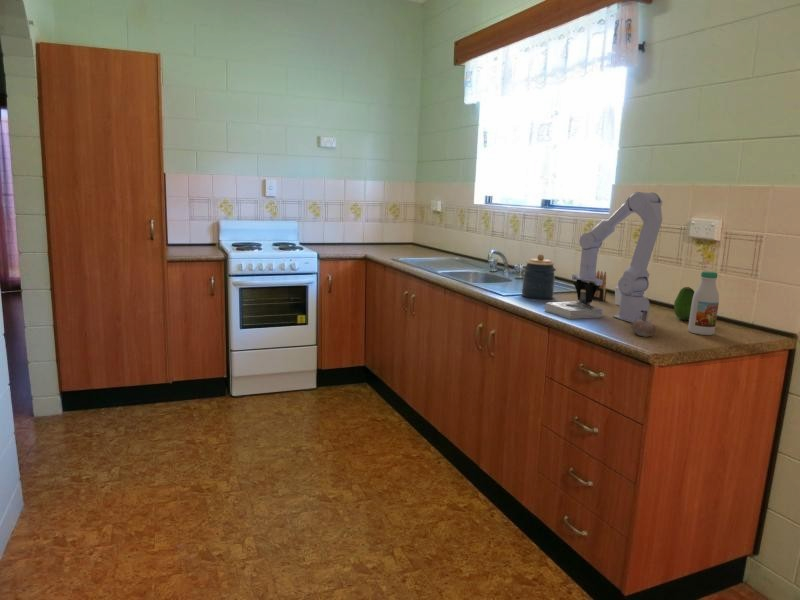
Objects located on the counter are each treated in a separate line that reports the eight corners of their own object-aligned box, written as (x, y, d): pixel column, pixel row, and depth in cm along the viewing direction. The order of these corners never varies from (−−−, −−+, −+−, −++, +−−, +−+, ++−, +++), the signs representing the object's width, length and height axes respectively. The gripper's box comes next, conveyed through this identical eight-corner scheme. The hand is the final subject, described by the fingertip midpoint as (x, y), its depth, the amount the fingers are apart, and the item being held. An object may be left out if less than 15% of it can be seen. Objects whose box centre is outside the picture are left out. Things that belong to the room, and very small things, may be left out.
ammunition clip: (605, 301, 241) (608, 272, 238) (602, 301, 240) (605, 272, 238) (585, 296, 250) (588, 268, 248) (582, 296, 249) (585, 268, 247)
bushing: (592, 305, 222) (593, 290, 220) (583, 306, 220) (585, 290, 219) (584, 303, 225) (586, 288, 224) (576, 304, 224) (578, 288, 222)
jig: (601, 317, 209) (602, 308, 208) (570, 319, 203) (570, 310, 203) (575, 309, 221) (576, 301, 221) (544, 310, 216) (545, 302, 215)
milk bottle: (684, 332, 191) (692, 271, 188) (692, 328, 197) (701, 269, 193) (709, 337, 186) (718, 274, 182) (717, 333, 191) (726, 272, 188)
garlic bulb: (636, 331, 191) (639, 306, 189) (659, 335, 186) (662, 310, 184) (626, 334, 185) (629, 309, 184) (649, 339, 180) (653, 314, 179)
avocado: (667, 318, 211) (672, 285, 209) (680, 316, 216) (684, 284, 213) (688, 323, 205) (693, 289, 202) (701, 321, 209) (706, 288, 207)
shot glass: (633, 306, 230) (635, 289, 229) (614, 305, 232) (616, 288, 230) (629, 303, 237) (631, 286, 236) (612, 302, 238) (614, 285, 237)
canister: (535, 292, 253) (538, 251, 250) (559, 298, 243) (563, 255, 240) (514, 295, 245) (518, 253, 242) (539, 300, 235) (543, 256, 232)
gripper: (567, 263, 225) (563, 298, 227) (593, 268, 212) (589, 305, 214) (581, 262, 228) (578, 297, 230) (608, 268, 215) (604, 304, 217)
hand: (584, 301), depth 222 cm, fingers closed on bushing, 4 cm apart
